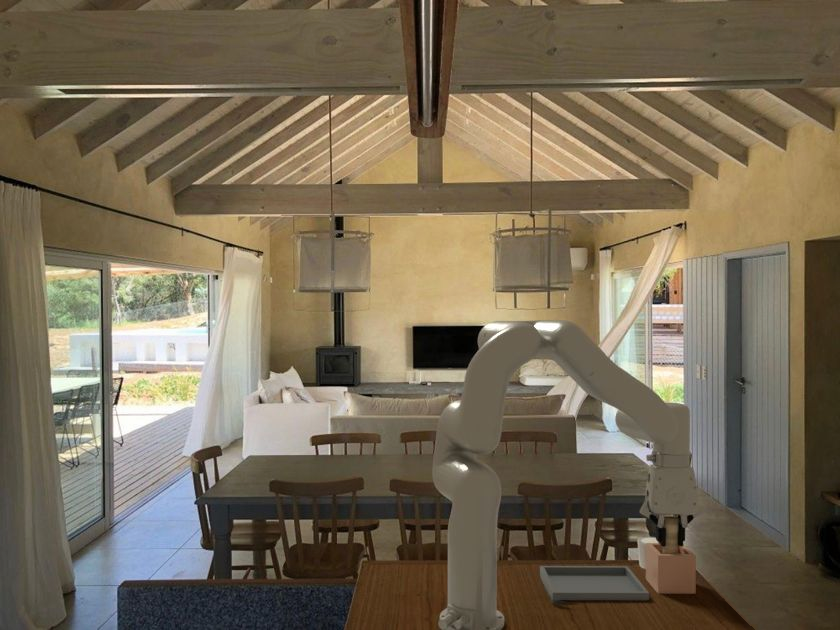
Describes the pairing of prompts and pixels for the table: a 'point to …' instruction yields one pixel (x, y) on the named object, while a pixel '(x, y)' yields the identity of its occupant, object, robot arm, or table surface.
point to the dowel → (671, 534)
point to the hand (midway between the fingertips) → (670, 543)
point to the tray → (591, 583)
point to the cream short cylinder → (644, 549)
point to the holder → (671, 569)
